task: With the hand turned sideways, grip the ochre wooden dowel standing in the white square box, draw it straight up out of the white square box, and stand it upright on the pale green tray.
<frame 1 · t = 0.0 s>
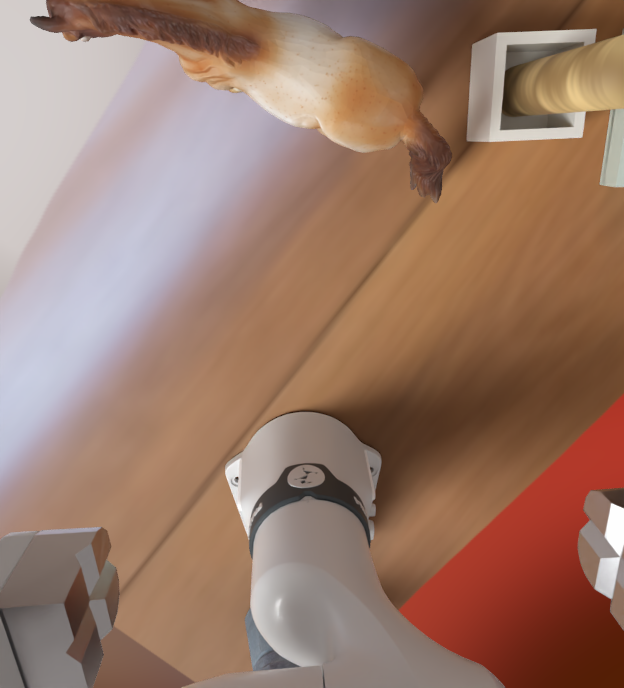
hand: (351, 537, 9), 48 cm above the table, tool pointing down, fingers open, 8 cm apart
dowel: (516, 91, 50), point 1 cm above the table, touching white square box
horse figurine: (284, 123, 51), on the table
white square box: (512, 92, 51), on the table
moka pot: (276, 617, 74), on the table
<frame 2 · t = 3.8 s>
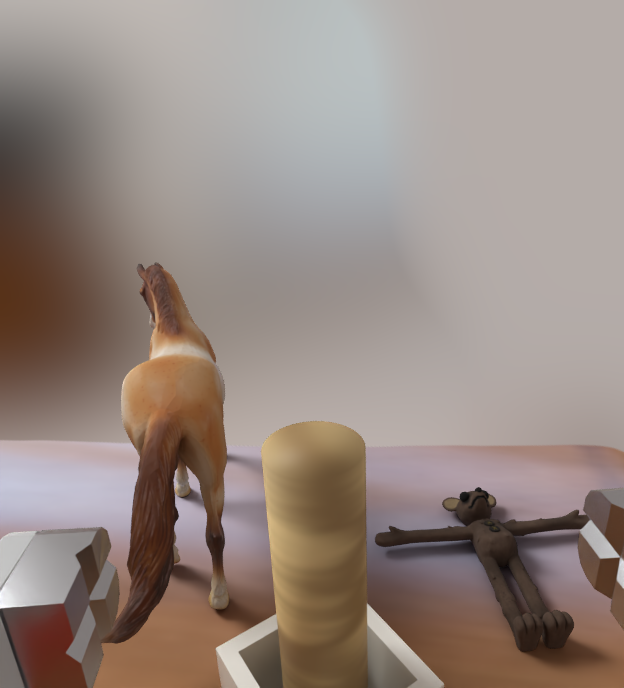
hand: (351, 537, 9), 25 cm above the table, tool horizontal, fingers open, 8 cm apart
bear figurine: (497, 572, 41), on the table
horse figurine: (163, 534, 46), on the table
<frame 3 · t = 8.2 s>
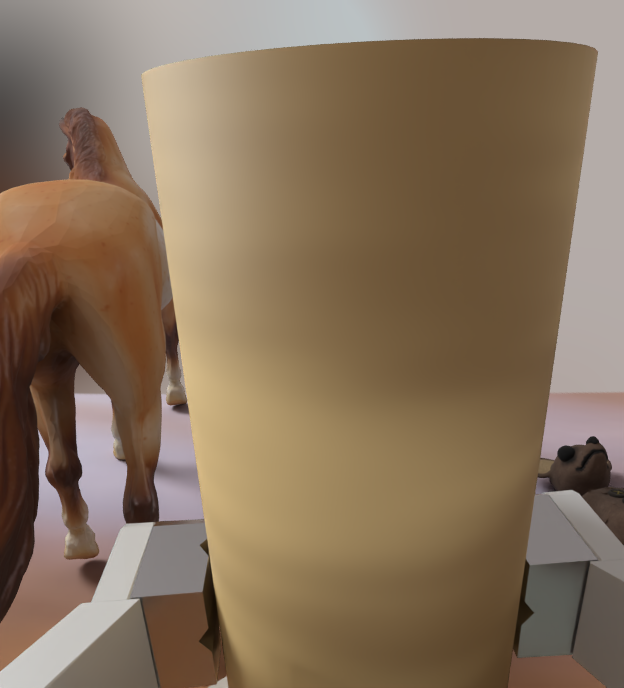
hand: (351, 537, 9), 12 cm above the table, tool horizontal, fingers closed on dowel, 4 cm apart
horse figurine: (83, 513, 29), on the table
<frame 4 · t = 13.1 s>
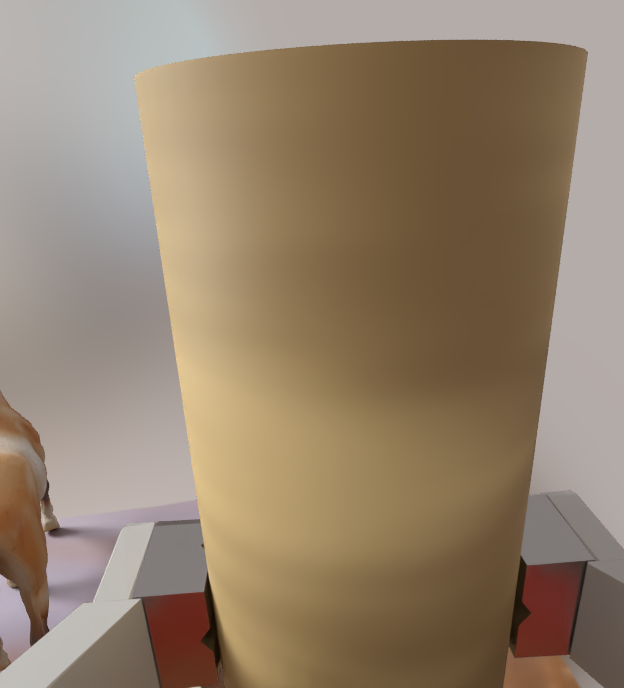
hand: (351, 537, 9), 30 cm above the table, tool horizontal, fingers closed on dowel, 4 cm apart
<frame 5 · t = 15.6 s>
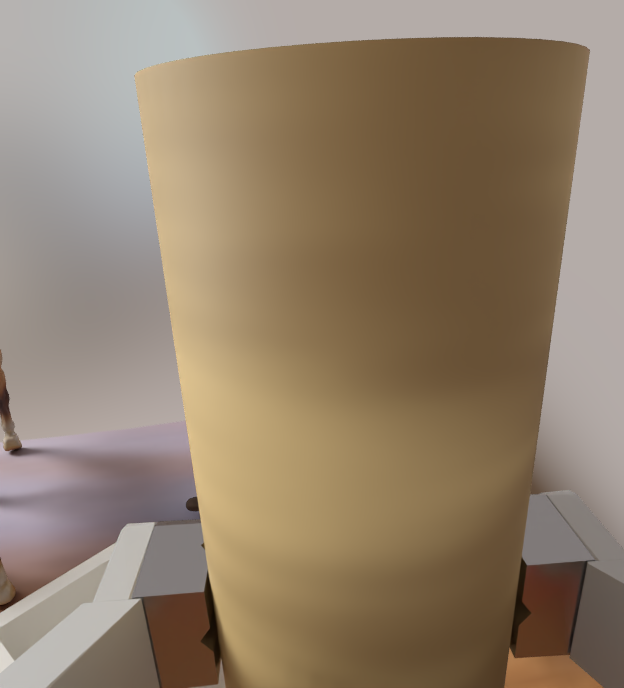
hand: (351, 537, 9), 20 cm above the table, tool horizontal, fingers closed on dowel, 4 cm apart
when the fingers open (13 cm above the table, at t = 17.7 s): dowel drops 1 cm, resting on tray.
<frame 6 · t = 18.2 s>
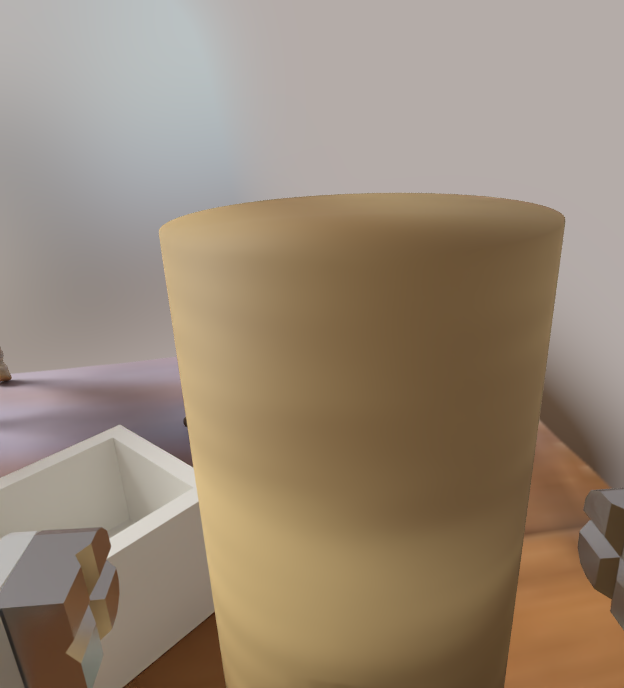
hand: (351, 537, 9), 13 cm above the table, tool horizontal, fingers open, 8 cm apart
white square box: (107, 603, 25), on the table
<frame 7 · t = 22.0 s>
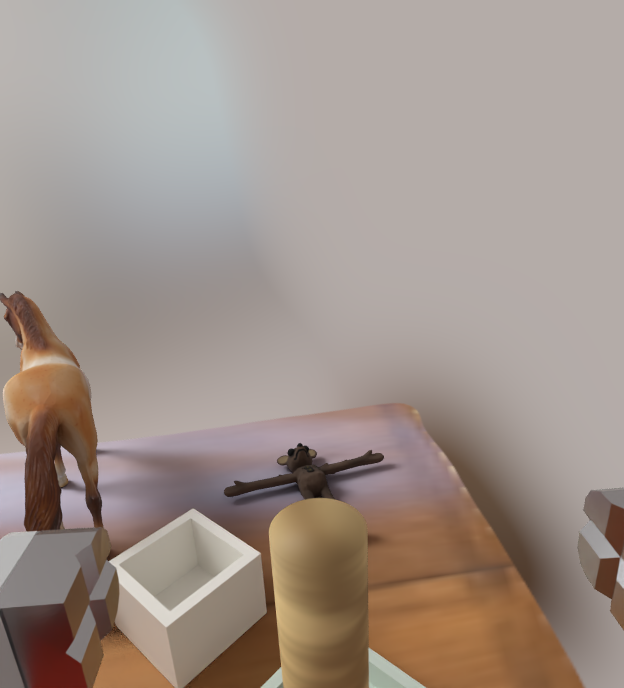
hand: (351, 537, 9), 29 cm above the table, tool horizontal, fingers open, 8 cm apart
bear figurine: (315, 501, 56), on the table
horse figurine: (47, 517, 55), on the table
white square box: (191, 618, 42), on the table
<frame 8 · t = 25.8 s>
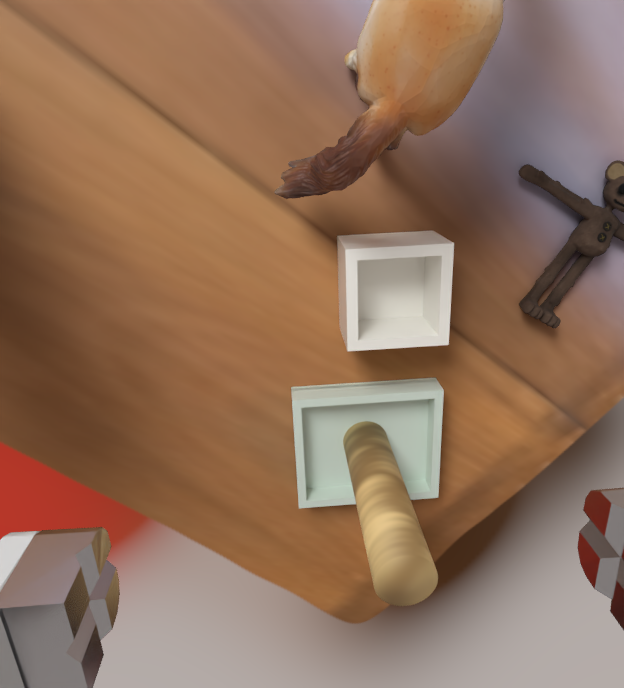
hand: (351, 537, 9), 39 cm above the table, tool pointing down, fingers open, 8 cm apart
dowel: (365, 440, 53), point 1 cm above the table, touching tray
bear figurine: (574, 243, 48), on the table
tray: (364, 436, 54), on the table
white square box: (384, 280, 48), on the table
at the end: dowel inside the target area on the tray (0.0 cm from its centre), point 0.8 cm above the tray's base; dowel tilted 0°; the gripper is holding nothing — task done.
